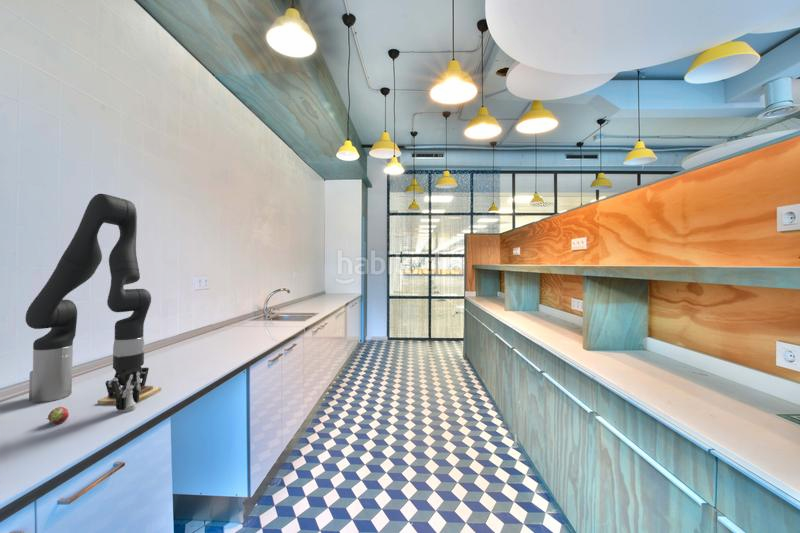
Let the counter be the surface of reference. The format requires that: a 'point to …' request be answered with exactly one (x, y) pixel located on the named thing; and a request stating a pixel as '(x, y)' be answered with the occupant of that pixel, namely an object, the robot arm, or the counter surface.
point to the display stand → (143, 394)
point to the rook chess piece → (129, 400)
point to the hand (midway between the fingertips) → (127, 405)
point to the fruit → (58, 415)
